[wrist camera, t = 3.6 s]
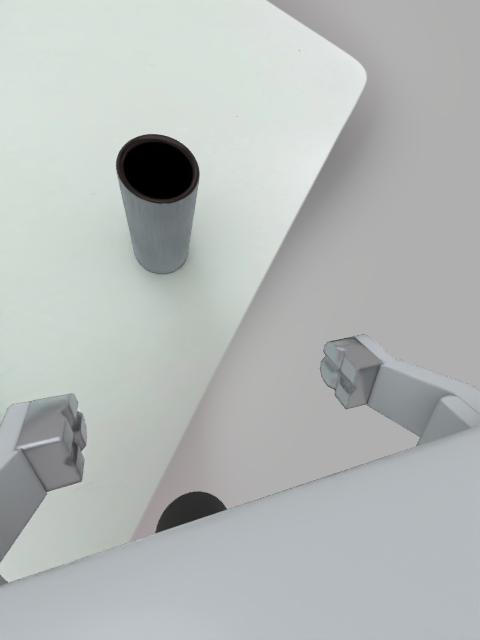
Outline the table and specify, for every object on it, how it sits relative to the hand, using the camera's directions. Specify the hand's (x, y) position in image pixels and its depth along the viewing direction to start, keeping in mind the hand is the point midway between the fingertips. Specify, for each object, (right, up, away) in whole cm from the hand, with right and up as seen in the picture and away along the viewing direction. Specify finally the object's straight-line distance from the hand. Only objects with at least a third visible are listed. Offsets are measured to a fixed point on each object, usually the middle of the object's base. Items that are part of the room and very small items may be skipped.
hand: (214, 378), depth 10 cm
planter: (-6, +8, +17) cm, 20 cm away
